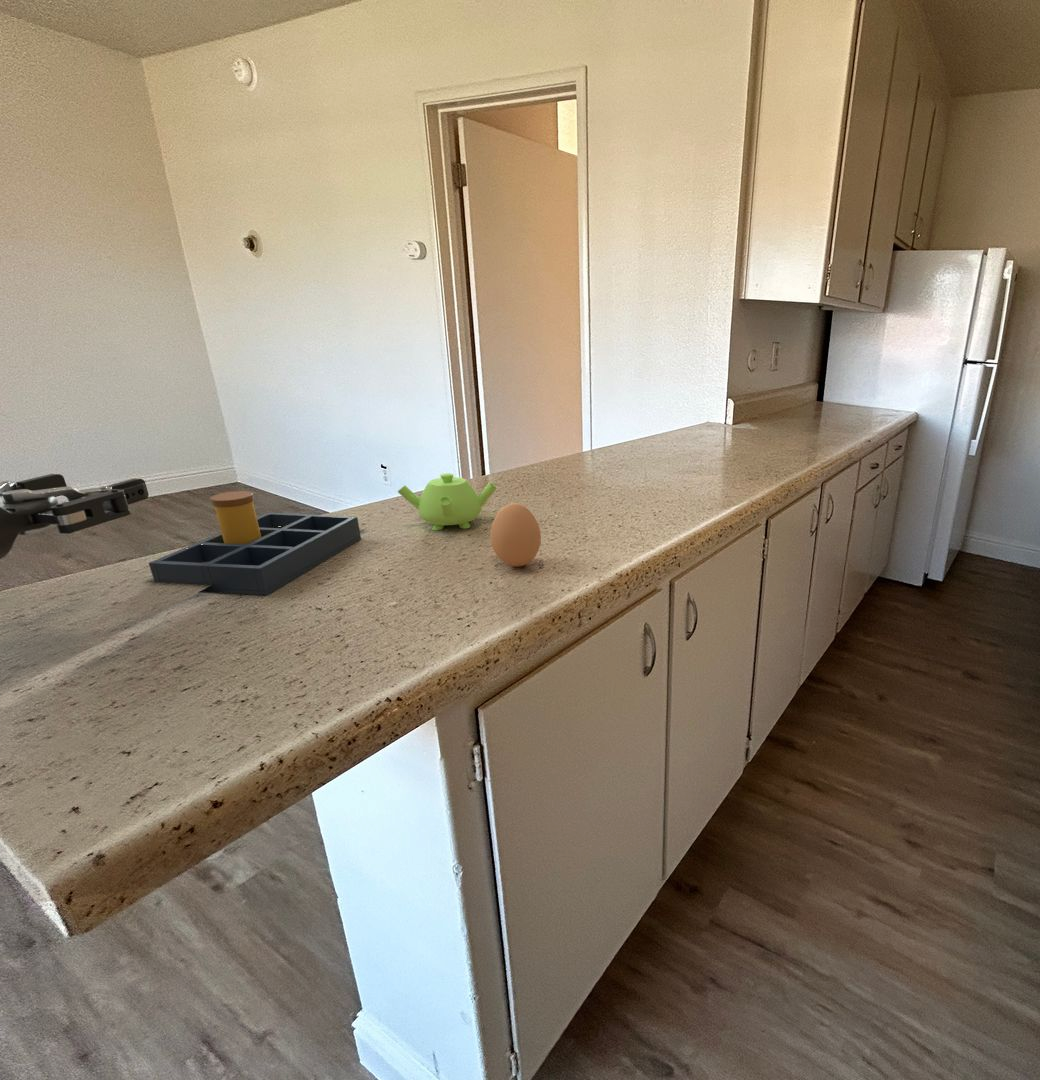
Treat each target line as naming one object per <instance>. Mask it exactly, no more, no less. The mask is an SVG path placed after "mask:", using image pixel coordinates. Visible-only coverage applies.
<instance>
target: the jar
mask: <svg viewBox="0 0 1040 1080" xmlns="http://www.w3.org/2000/svg"><path fill="white" fill-rule="evenodd" d="M209 498H210V502H211V505H212V506H213V507H214V510H215V514H216V518H217V521H218V525H219V529H220V533H222V537H223V540H224V543H229V544H248V543H250V542H253V541H255V540H257V539H259V538H261V533H260V529H259V525H258V521H257V517H258V516H257V512H256V508H255V505H254V501H255V497H254V493H253V492H251V491H247V490H235V491H234V490H233V491H227V492H221V493H217V494H214V495H212V496H211V497H209Z"/></svg>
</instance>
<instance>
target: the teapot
mask: <svg viewBox="0 0 1040 1080" xmlns="http://www.w3.org/2000/svg"><path fill="white" fill-rule="evenodd" d="M497 489H498V486H497V485H495V484H494V483H493V482H488V483H487V485H486V486H485V487H484V489H483V490H482V491H481V493H480V494H479V495H478V492H477V491H476V490H475V488H474V487H473V486H472V485H471V483H470V482H469V481H467V479H465V478H463V477H457V476H456V477H455V476H454V473H450V472H445V473H441V474H440V477H438V478H434V479H431V480H429V482H427V484H426V485H425V487H424V488H423V491H422V493H421V495H420V497H419V496H418V495H416V494H415V493H414V492H413V491H412V490H411V489H410V488H409V487H408V486H407V485H403V486H402V487H400V488H399V489H398V490H397V493H398V494H399V495H400V496H401V497H403V498H404V499H405V500H406V501H407V502H408V503H410V505H412V506H413V507H414V508H415V509H416V510H418V514H419V516H420V517H421V519H423V520H424V521H425V522H426V523H428V524H430V525H432V527H431V530H433V531H440V530H444V527H445V526H454V525H456V526H457V525H458V527H459V529H469V528H471V525H470V522H472V521H474V520H476V519H477V517H479V515H480V514H481V512H482V510H483V507H484V505H485V504H486V502H488V500H489V499H490V498H491V497H492V495H493V494H494V493H495V491H496V490H497Z"/></svg>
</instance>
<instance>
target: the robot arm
mask: <svg viewBox="0 0 1040 1080" xmlns="http://www.w3.org/2000/svg"><path fill="white" fill-rule="evenodd" d="M149 495H150V494H149V491H148V486H147V484H146V481H145V480H144V479H143V478H130V479H127V480H123V481H119V482H115V483H112V484H108V485H103V486H98V487H92V488H86V489H85V488H84V489H77V488H75V487H73V486H69V485H68V486H67V482H66V480H65V477H64V475H62V474H60V473H49V474H44V475H41V476H36V477H31V478H28V479H24V480H20V481H16V482H15V481H12V480H11V481H9V480H3V481H1V482H0V560H1V559H3V558H5V557H6V556H7V555H8V554H9V553H10V552H11V550H12V549H13V546H14V543H15V541H16V539H17V537H18V536H27V535H33V534H39V533H43V532H45V531H46V530H48V529H55V528H57V529H58V532H59V534H73V533H76V532H79V531H82V530H84V529H90V528H92V527H95V526H98V525H103V524H105V523H108V522H111V521H114V520H118V519H121V518H124V517H127V516H130V515H132V513H131V510H130V506H129V505H132V504H135V503H139V502H141V501H144V500H147V499H148V498H149ZM57 497H65V498H66V500H67V501H66V500H65V501H61V502H59V501H58V499H57Z"/></svg>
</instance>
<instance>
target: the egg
mask: <svg viewBox="0 0 1040 1080" xmlns="http://www.w3.org/2000/svg"><path fill="white" fill-rule="evenodd" d="M493 519H494V520H493V521H492V523H491V529H490V543H491V547H492V550H493V553H494V554H495V556H496V557H497V558H498V559H499V560H500V561H502V562H503V563H504V564H506V565H507V566H510V567H514V568H515V567H516V568H518V567H524V566H526V565H528V564H529V563H530V562H532V561H533V559H534V558H535V557H536V556H537V554H538V553H539V550H540V548H541V544H542V534H541V528H540V524H539V522H538V521H537V518H536V517H535V515H534V514H533V513H532V511H531V510H530V509H529V508H527V507H526V506H525V505H523V504H520V503H516V502H513V503H512V502H511V503H509V504H506V505H504V506H503V507H501V509H499V510H498V512H497V513H496V515H495V517H494V518H493Z"/></svg>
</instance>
